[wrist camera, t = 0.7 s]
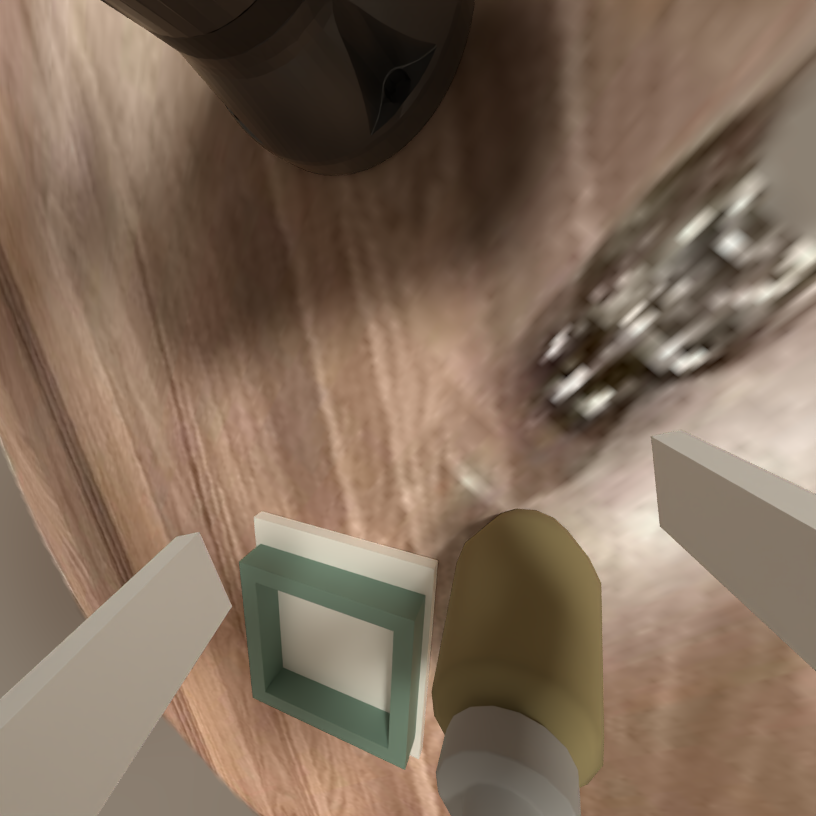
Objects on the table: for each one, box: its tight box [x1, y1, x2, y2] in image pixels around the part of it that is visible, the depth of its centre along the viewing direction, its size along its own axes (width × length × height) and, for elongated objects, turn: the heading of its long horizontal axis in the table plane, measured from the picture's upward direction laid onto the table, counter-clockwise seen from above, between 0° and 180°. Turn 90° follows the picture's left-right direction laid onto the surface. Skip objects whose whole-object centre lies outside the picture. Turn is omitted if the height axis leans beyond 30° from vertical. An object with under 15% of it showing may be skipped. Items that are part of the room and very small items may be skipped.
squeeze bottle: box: [432, 509, 604, 816], centre depth 17 cm, size 8×8×18 cm
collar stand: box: [239, 511, 438, 770], centre depth 32 cm, size 20×16×4 cm
